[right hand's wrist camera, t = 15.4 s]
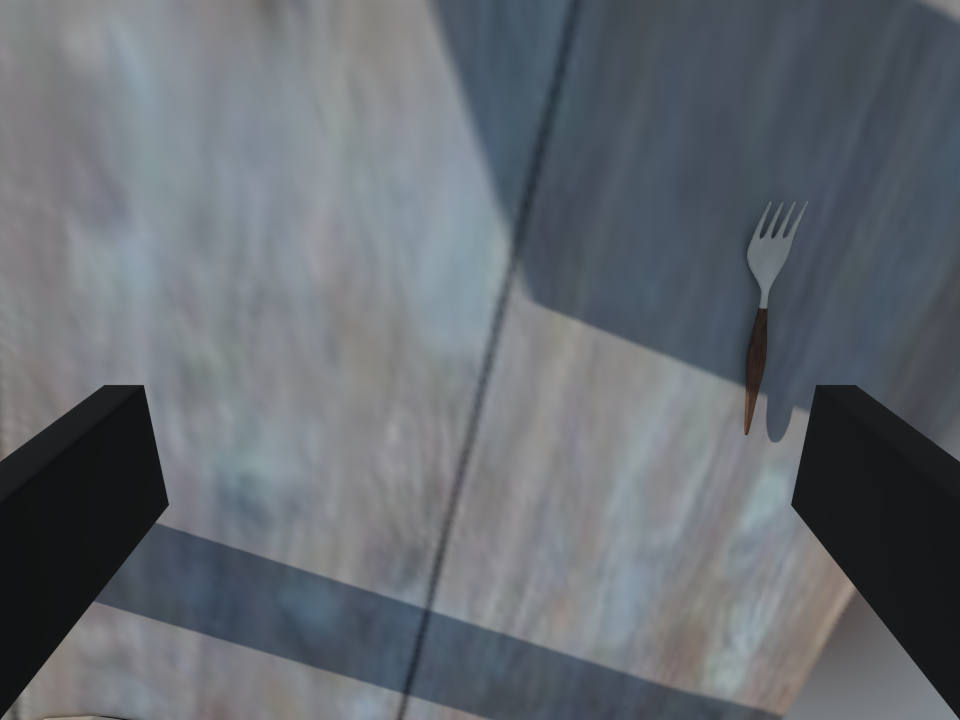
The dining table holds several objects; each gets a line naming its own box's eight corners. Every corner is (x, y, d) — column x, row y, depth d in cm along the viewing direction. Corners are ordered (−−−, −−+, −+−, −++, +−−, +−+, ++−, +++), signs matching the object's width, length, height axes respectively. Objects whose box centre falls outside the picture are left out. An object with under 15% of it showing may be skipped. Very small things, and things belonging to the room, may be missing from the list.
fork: (724, 431, 44) (734, 446, 43) (753, 197, 39) (766, 201, 37) (761, 430, 44) (774, 444, 43) (796, 196, 39) (812, 200, 37)
